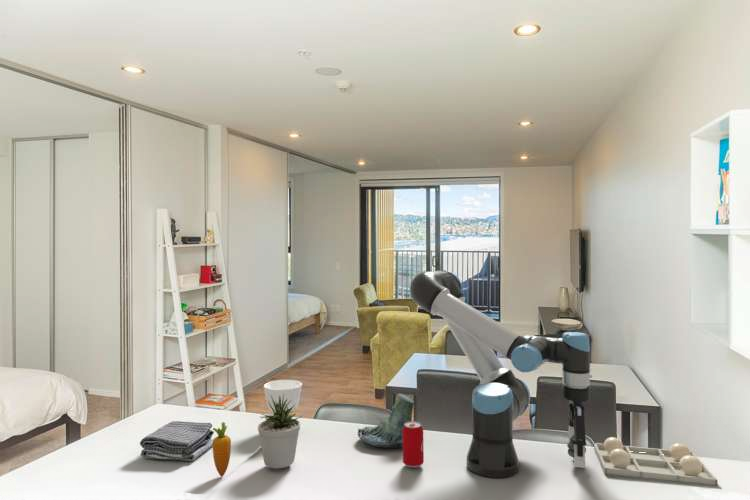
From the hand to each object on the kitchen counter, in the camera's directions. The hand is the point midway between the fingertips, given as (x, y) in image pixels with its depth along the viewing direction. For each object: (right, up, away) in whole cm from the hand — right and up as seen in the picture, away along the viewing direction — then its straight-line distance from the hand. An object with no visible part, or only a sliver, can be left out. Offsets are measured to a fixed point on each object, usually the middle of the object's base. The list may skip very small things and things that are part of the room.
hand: (576, 457), depth 146 cm
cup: (-93, -3, +32) cm, 98 cm away
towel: (-122, -4, +12) cm, 123 cm away
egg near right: (+29, -2, -7) cm, 30 cm away
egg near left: (+12, -2, -2) cm, 12 cm away
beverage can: (-48, -3, +2) cm, 48 cm away
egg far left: (+14, -2, +6) cm, 16 cm away
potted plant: (-88, -3, +4) cm, 88 cm away
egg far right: (+32, -2, +2) cm, 32 cm away
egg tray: (+22, -3, 0) cm, 22 cm away
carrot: (-103, -3, -6) cm, 103 cm away
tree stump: (-57, -6, +22) cm, 61 cm away
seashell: (0, -3, 0) cm, 3 cm away
